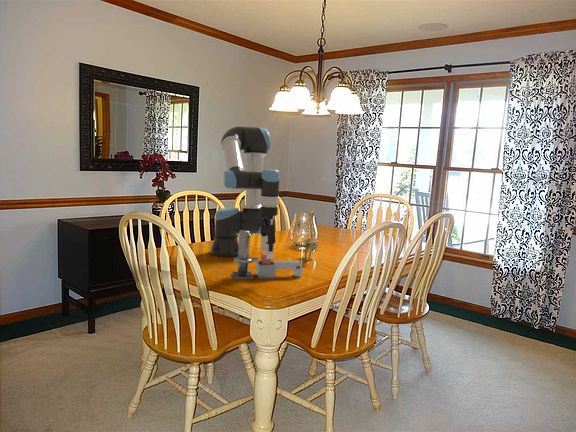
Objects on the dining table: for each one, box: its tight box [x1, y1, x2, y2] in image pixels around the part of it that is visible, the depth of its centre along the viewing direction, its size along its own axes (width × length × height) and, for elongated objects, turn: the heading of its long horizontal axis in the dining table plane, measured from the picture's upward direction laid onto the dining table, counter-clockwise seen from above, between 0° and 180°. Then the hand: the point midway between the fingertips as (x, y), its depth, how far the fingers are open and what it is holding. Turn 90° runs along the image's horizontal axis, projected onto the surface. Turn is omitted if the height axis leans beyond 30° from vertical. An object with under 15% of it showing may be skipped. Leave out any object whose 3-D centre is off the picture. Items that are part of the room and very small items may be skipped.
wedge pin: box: [260, 252, 272, 265], centre depth 195 cm, size 4×4×10 cm
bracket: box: [255, 260, 303, 280], centre depth 197 cm, size 7×20×6 cm, turn 104°
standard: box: [231, 230, 260, 281], centre depth 192 cm, size 8×10×20 cm
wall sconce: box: [298, 210, 319, 262], centre depth 226 cm, size 14×10×25 cm
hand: (266, 254), depth 195 cm, fingers open, 13 cm apart
